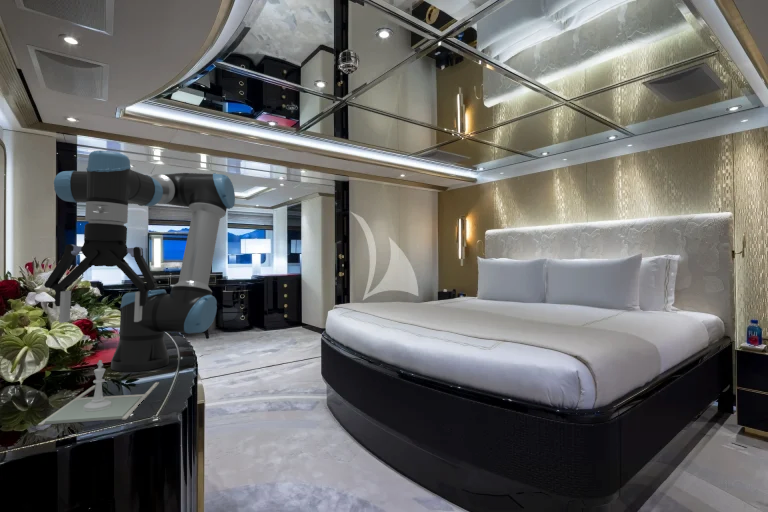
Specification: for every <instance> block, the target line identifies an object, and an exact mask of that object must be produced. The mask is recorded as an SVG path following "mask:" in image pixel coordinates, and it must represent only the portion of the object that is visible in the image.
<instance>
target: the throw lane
mask: <svg viewBox="0 0 768 512" xmlns="http://www.w3.org/2000/svg"><path fill="white" fill-rule="evenodd" d="M159 384H160V382H157V381H156V382H155V383H153V384H152V385H151V387H149V389H148V390H147V391H146V392H145V393H143V394H142V393H140V394H126V395H107V396H106V395H105V396H104V395H103V398H105V399H104V400H109V401H111V404H112V406H111V407H109V408H107V409H104V410H100V411H92V412H89V411H84V410H83V408H84V405H85V404H87V403H89V402H92V401H91V400H93V398H94V396H91V397H90V396H89V397H85V396H86V395H87V394H89V393H90V392H92V391H93V390H95V388H96V384H95V385H92V386H91V387H89V388H88V389H86V390H85V391H84V392H82V393H81V394H79V395H77V396H76V397H75V398H74V399H72V400H70V401H69V402H68V403H67V404H64V405H63V406H61V408H59V409H58V410H56V411H55V412H53V413H52V414H51V415H49V416H48V417H46V418H45V419H43V420H42V421H41V422H39V423H38V424H37V426H38V427H40V426H41V427H43V426H45V425H53V424H54V425H55V424H56V425H57V424H66V423H67V424H69V423H70V424H71V423H81V422H82V423H84V422H93V421H94V422H95V421H112V420H122V421H123V420H127V419H128V418H129V417H130V416H131V414H133V413H134V412H133V411H136V409H138V407H139V406H140V405H141V404H142V403H143V402H144V401H145V400H146V399H147V397H148V396H149V395H150V394H151V393H152V392H153V391H154V390H155V389H156V387H157V386H158V385H159ZM143 400H144V401H143ZM142 401H143V402H142ZM141 402H142V403H141ZM139 404H140V405H139ZM138 405H139V406H138Z"/></svg>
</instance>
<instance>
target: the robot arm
mask: <svg viewBox="0 0 768 512" xmlns="http://www.w3.org/2000/svg"><path fill="white" fill-rule="evenodd" d="M53 190H54V191H55V194H56V196H57V197H58V198H59V199H61V200H62V201H64V202H69V203H76V204H77V203H85V217H84V219H85V221H87V222H88V223H85V224H84V235H83V240H84V242H83V244H82V246H81V245H76V244H72V243H71V244H70V243H69V244H66V245H65V246H64V247H65V248H64V252H63V255H62V256H61V258H60V260H59V261H58V263H57V264H56V266H55V267H54V269H53V270H52V271H51V273H50V275H49V277H47V279H46V281H45V282H44V284H43V285H44V286H43V287H44V288H46V289H51V290H53V291H55V296H54V304H55V307H59V317H58V323H59V324H65V323H67V322H70V320H71V303H72V302H71V301H72V290H68V288H69V287H70V286H72V285H73V284H74V283H75V282H76V281H77V280H78V279H79V278H80V277H81V276H82V275H83V274H84V273H85V272H87V270H88V269H90V268H91V267H93V266H94V267H107V268H108V267H117V268H118V270H120V271H121V272H122V273H123V274H124V275H125V276H126V277H127V278H128V280H130V282H132V284H133V285H134V287H136V288H137V289H138V291H134V292H133V291H132V292H131V291H130V292H126V293H124V294H123V296H122V297H121V303H120V319H119V340H118V341H119V342H118V344H117V346H116V348H115V351H114V354H113V355H112V358H111V360H110V361H111V363H110V369H111V370H113V371H115V372H124V373H125V372H126V373H127V372H144V371H150V370H155V369H160V368H163V367H166V366H168V365H169V363H170V356H169V352H168V349H167V345H166V342H165V338H164V336H165V333H182V334H183V333H184V334H185V333H186V334H198V333H199V334H201V333H204V332H206V331H207V330H209V328H210V327H212V324H213V322H214V321H215V319H216V318H215V317H216V315H217V309H218V307H217V302H218V301H217V298H216V297H215V296H213V294H212V293H213V291H212V289H211V288H210V287H209V282H210V277H211V272H212V271H211V270H212V265H213V259H214V254H215V249H216V243H217V238H218V231H219V226H220V222H221V221H220V220H221V219H222V218H223V217H226V214H227V209H228V210H230V209H232V208H234V206H235V204H236V203H235V201H236V193H235V188H234V186H233V182H232V180H231V179H230V177H229V176H227V174H223V173H216V172H215V173H214V172H213V173H200V172H199V173H197V172H177V173H176V172H175V173H167V174H165V173H164V174H160V173H157V174H153V175H151V176H150V175H148V174H143V173H140V172H138V171H136V170H133V169H132V167H131V161H130V158H129V157H128V156H127V155H125V154H122V153H120V152H115V151H110V150H93V151H90V153H89V154H88V161H87V167H86V170H85V171H80V170H65V171H60V172H58V173H57V174H56V176H55V177H54V180H53ZM157 204H159V205H169V206H170V205H171V206H175V207H176V206H177V207H184V208H188V210H189V211H190V213H192V215H191V219H190V223H189V229H188V233H187V238H186V242H185V243H186V244H185V248H184V253H183V256H182V263H181V268H180V273H179V278H178V282H176V283H175V284H174V285H172V286H171V290H170V294H169V293H167V291H166V289H163V288H162V289H157V288H158V287H159V285H158V282H157V280H156V279H155V277H154V275H153V273H152V271H151V269H150V267H149V265H148V263H147V261H146V259H145V258H144V249H143V247H140V246H135V247H128V246H127V240H128V239H127V238H128V236H127V235H128V227H127V226H126V225H125V224H127V223H128V219H129V218H128V217H129V216H128V214H129V205H137V206H141V207H143V206H144V207H153V206H156V205H157ZM80 253H82V254H83V255H84V258H83V259H82V260H81V261H80V262H79V264H78V265H77V266H76V267H75V268H73V270H71V271H70V272H69V273H68V274H67V275H66V276H65V277H64V275H65V274H66V273H67V271H68V269H69V268H70V266H71V264H72V263H73V262H74V260H75V258H76V256H78V255H80ZM128 254H129V255H130V256H131V257H132V258H134V260H135V263H136V265H137V267H138V269H139V270H140V272H141V273H140V274H141V275H142V276H143V278H144V280H145V281H144V280H143V279H142V278H141V277H140V276H139V275H138V274H137V273H136V271H135V270H134V269H133V268H132V267H131V266H130V265H129V263H128V262H127V261H126V260H125V257H126V256H127V255H128ZM63 277H64V278H63ZM62 278H63V279H62ZM145 282H146V283H145Z"/></svg>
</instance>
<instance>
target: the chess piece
mask: <svg viewBox="0 0 768 512" xmlns="http://www.w3.org/2000/svg"><path fill="white" fill-rule="evenodd" d="M96 365H97V366H98V367H97V368H96V369H94V370H93V372H94V375H95V379H94V380H93V381H92V382H93V384H95V385H96V388H94V394H93V397H94V398H93V400H91V401H92V402H89V403H87V404H85V405H84V408H83V410H84V411H89V412H92V411H100V410H104V409H107V408H109V407H111V406H112V404H111V401H109V400H104V399H105V398H103V397H104V395H103V394H104V393H103V385H102V384H103V383H104V382H106V380H105V378H103V377H104V374H105V372H106V368H104V364H103V360H101V359H99V360H98V362H97V363H96Z"/></svg>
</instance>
